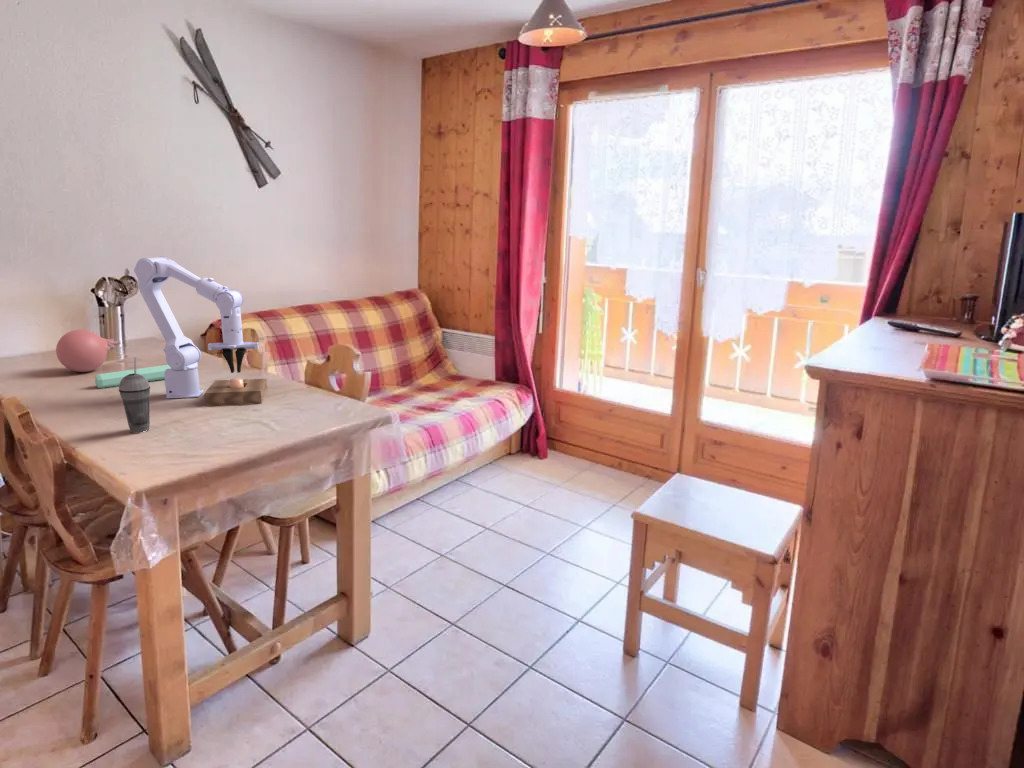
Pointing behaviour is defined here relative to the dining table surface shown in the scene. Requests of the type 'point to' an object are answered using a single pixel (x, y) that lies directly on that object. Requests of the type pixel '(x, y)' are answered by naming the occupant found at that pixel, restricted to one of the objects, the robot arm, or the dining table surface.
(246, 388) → the walnut bore block
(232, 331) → the robot arm
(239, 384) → the terracotta plug
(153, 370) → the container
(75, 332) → the balloon
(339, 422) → the dining table surface
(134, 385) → the beverage cup
